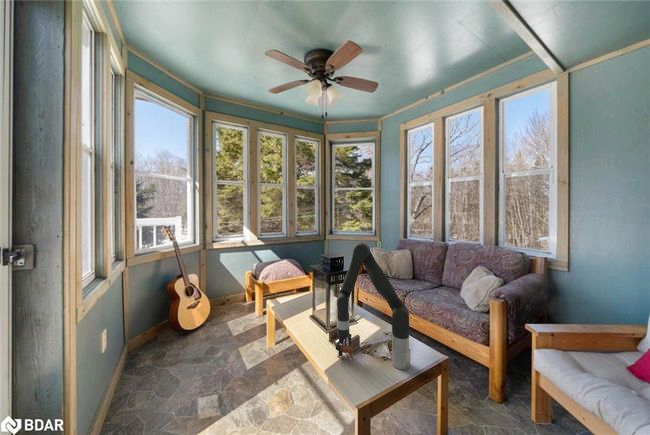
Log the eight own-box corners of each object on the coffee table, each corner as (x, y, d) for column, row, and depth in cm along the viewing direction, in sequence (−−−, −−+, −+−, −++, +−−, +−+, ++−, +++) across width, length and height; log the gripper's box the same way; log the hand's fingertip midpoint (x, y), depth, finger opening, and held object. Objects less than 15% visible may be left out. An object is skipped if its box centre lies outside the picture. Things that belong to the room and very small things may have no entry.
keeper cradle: (359, 346, 162) (359, 335, 161) (351, 352, 155) (351, 341, 155) (337, 336, 175) (337, 326, 175) (328, 341, 168) (328, 330, 168)
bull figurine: (335, 351, 157) (335, 338, 156) (355, 358, 150) (355, 344, 149) (332, 355, 153) (331, 342, 152) (352, 361, 146) (352, 348, 146)
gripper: (340, 333, 143) (340, 362, 143) (355, 324, 153) (355, 351, 154) (330, 328, 148) (330, 356, 149) (345, 320, 158) (345, 346, 159)
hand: (343, 353), depth 151 cm, fingers closed on bull figurine, 5 cm apart
